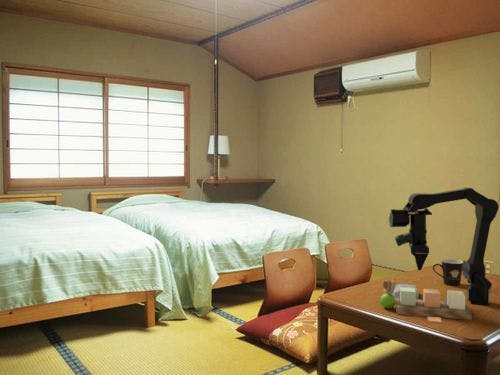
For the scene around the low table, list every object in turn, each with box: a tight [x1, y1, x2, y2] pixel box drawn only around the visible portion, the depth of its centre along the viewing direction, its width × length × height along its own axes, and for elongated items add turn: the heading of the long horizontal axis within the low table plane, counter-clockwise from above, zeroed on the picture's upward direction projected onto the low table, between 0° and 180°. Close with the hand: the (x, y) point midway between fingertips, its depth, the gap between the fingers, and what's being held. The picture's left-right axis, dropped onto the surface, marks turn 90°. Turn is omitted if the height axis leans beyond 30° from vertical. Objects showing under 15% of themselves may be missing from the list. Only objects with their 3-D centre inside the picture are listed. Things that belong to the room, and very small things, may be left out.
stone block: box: [392, 283, 420, 300], centre depth 178 cm, size 12×5×10 cm
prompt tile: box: [427, 316, 443, 324], centre depth 150 cm, size 4×4×1 cm
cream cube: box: [446, 289, 466, 310], centre depth 156 cm, size 5×5×5 cm
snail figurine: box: [379, 277, 397, 309], centre depth 162 cm, size 5×6×12 cm
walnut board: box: [394, 298, 473, 321], centre depth 159 cm, size 24×11×2 cm, turn 74°
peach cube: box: [422, 288, 441, 308], centre depth 158 cm, size 5×5×5 cm
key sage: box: [400, 287, 416, 306], centre depth 160 cm, size 5×5×5 cm
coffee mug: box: [432, 258, 464, 287], centre depth 195 cm, size 12×9×10 cm
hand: (418, 267), depth 170 cm, fingers open, 9 cm apart
